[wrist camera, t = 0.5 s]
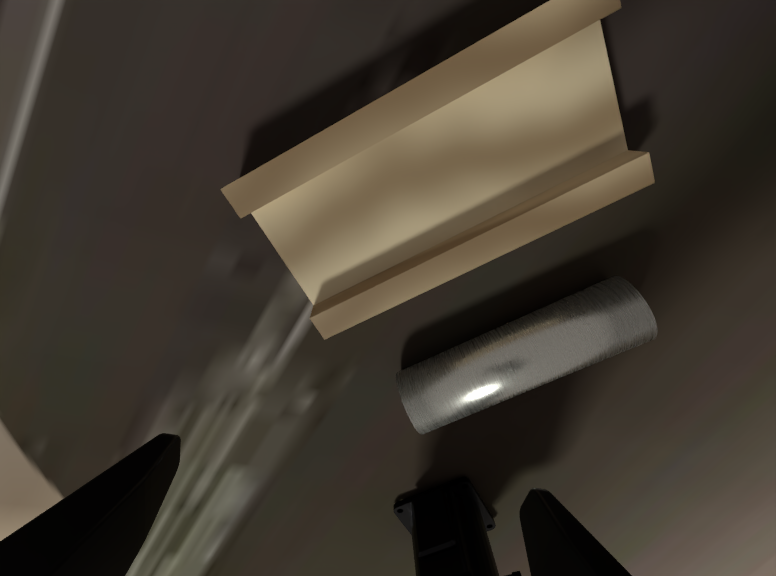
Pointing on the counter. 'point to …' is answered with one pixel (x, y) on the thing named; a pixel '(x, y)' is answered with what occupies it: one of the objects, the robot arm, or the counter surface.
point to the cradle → (450, 167)
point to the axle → (526, 353)
